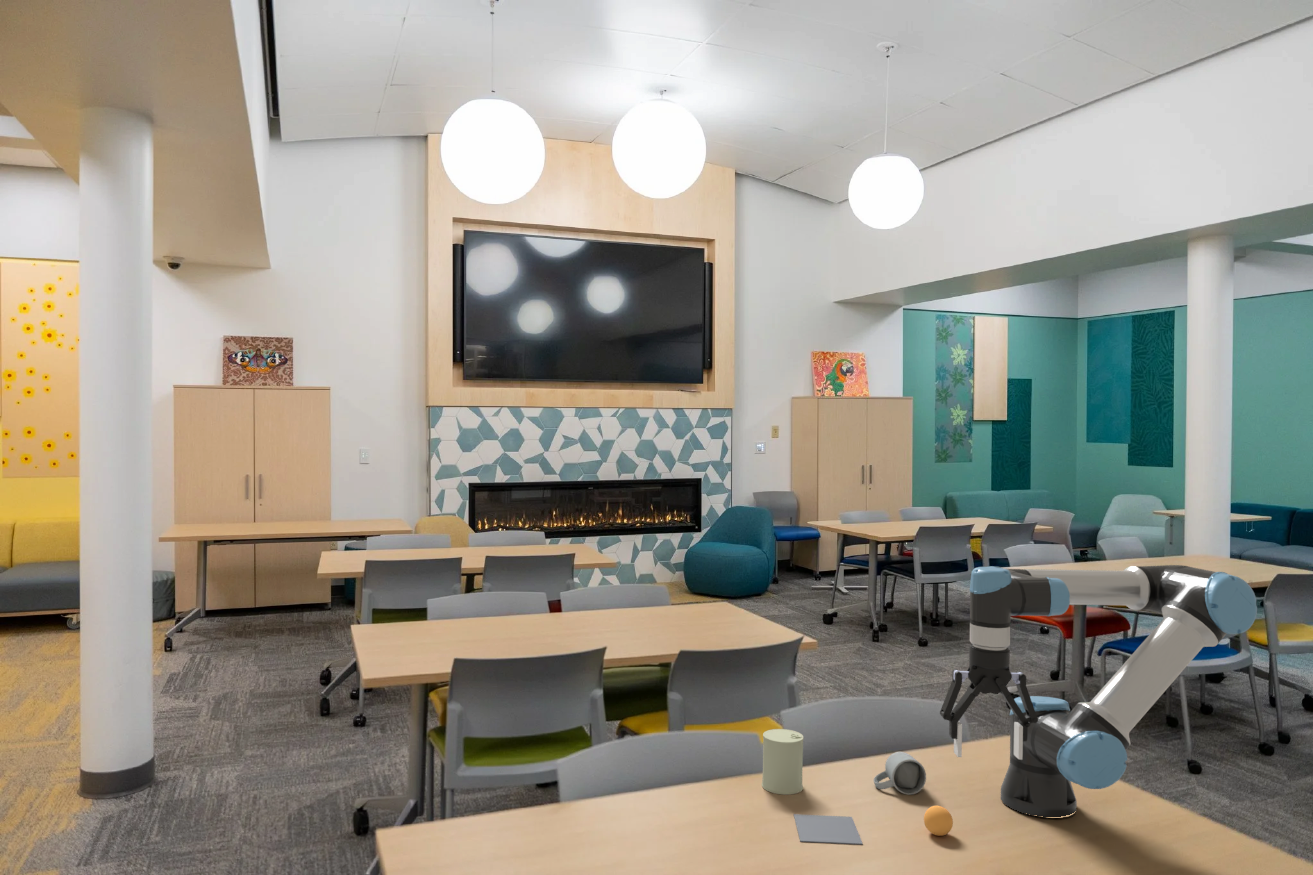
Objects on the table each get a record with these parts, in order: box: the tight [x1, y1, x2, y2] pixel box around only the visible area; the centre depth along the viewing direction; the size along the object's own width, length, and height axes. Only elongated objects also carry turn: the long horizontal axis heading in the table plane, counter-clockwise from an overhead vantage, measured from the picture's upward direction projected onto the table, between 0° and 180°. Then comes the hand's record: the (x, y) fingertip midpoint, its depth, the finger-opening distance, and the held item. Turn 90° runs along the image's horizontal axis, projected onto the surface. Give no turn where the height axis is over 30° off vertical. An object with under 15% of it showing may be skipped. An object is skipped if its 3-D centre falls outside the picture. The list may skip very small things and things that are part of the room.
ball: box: [923, 805, 954, 837], centre depth 171 cm, size 6×6×6 cm
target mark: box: [793, 813, 863, 845], centre depth 172 cm, size 12×12×1 cm
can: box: [761, 728, 805, 796], centre depth 193 cm, size 9×9×12 cm
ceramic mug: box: [873, 751, 927, 796], centre depth 194 cm, size 11×8×8 cm
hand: (987, 755), depth 170 cm, fingers open, 11 cm apart
